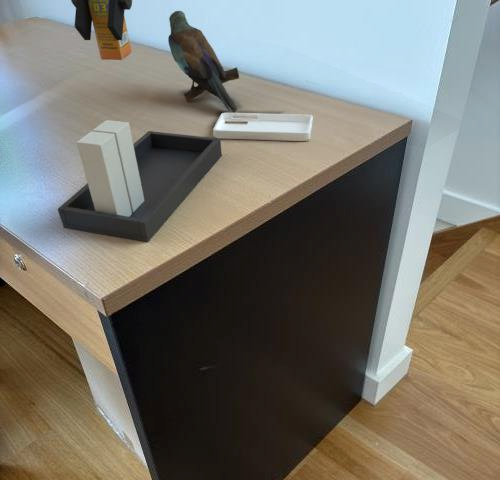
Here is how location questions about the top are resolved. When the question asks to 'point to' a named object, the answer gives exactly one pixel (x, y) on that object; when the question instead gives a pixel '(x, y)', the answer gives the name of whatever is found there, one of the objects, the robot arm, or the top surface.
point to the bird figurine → (199, 61)
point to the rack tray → (149, 186)
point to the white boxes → (111, 168)
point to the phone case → (265, 127)
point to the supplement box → (108, 33)
